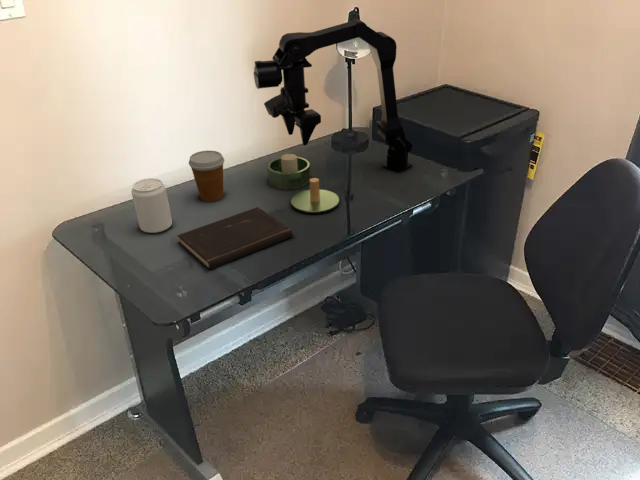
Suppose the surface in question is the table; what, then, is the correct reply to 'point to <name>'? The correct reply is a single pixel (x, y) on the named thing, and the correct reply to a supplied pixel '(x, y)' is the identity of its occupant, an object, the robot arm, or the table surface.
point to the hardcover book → (234, 237)
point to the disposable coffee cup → (208, 174)
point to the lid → (315, 199)
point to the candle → (289, 163)
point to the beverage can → (151, 205)
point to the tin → (288, 175)
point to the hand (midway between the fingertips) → (297, 139)
